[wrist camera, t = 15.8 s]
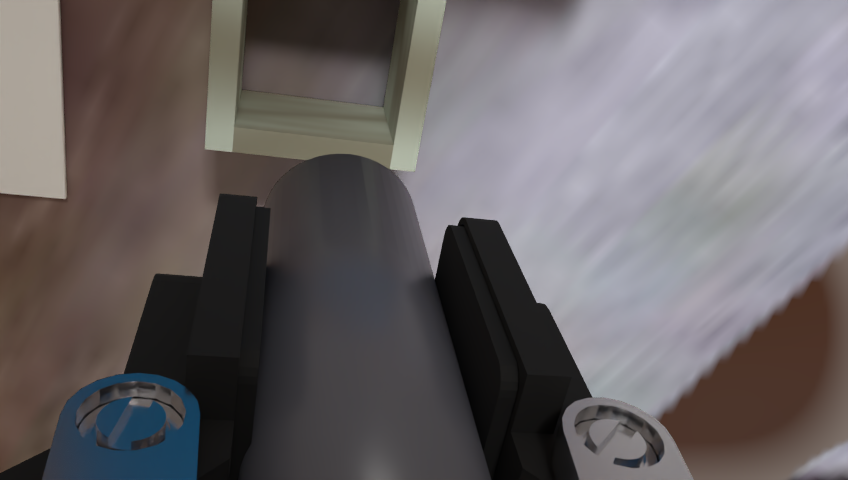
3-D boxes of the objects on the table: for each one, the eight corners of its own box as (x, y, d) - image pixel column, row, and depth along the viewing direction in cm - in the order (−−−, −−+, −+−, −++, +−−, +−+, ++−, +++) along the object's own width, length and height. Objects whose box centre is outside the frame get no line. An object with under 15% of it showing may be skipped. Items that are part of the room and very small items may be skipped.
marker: (260, 135, 14) (189, 729, 5) (437, 156, 14) (654, 713, 5) (247, 289, 15) (172, 962, 6) (408, 301, 16) (544, 927, 7)
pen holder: (227, -93, 24) (216, -78, 21) (435, -58, 25) (453, -39, 22) (215, 109, 27) (204, 149, 24) (402, 131, 28) (414, 171, 25)
